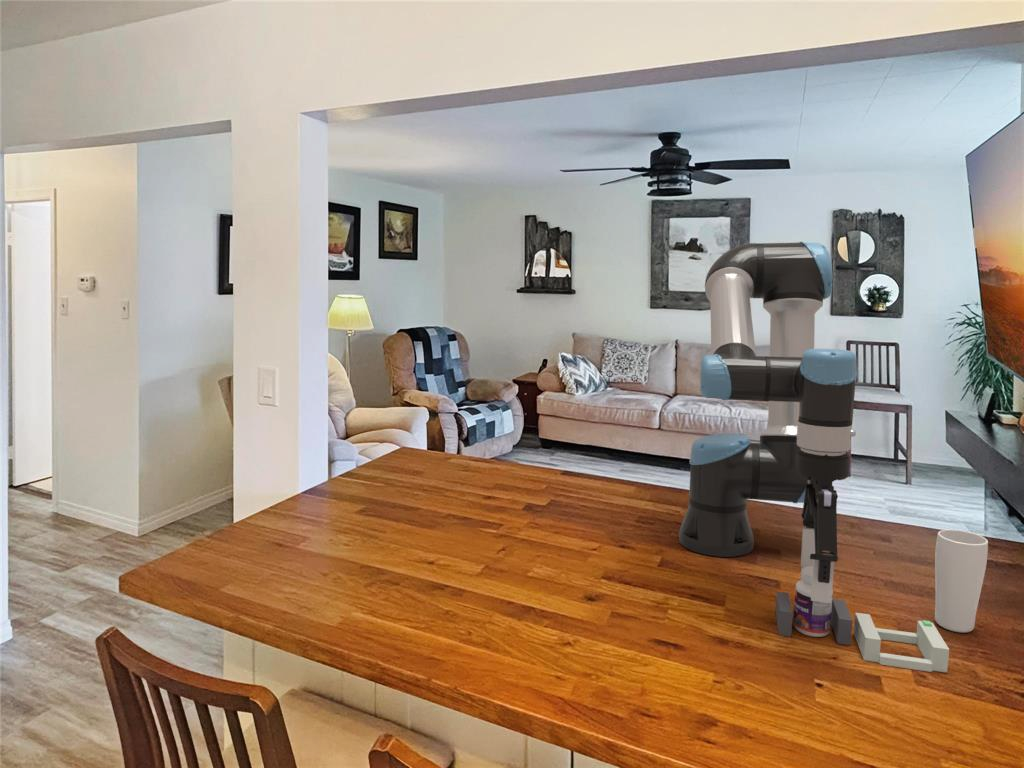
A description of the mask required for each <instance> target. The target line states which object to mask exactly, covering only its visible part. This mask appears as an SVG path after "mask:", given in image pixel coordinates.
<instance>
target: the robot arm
mask: <svg viewBox="0 0 1024 768" xmlns="http://www.w3.org/2000/svg"><path fill="white" fill-rule="evenodd" d="M833 277H834V276H833V264H832V260H831V256H830V253H829V251H828V249H827V247H826V246H825V245H824V244H822V243H820V242H805V241H798V242H768V243H767V242H766V243H763V242H762V243H758V242H751V243H750V242H749V243H745V244H744V243H743V244H740V245H738V246H735V247H733V248H731V249H729V250H728V251H725V252H724V253H723V254H722V255H721V256H719V257H718V259H716V260H715V261H714V263H713V264H712V265H711V266H710V268H709V270H708V272H707V274H706V277H705V282H704V291H705V296H706V298H707V300H708V301H709V302H710V349H711V350H710V351H711V352H710V354H708V355H706V354H705V355H704V356H702V357H701V360H700V374H699V380H700V381H699V392H700V395H701V396H702V397H703V398H707V399H717V400H721V401H760V402H761V401H762V402H763V401H764V402H765V401H766V402H767V401H768V415H767V416H768V417H767V419H768V420H767V421H768V422H767V427H766V428H765V429H764V430H763V431H762V432H761V433H760V434H759V442H752V441H751V439H750V437H749V435H747V434H744V433H732V432H728V433H726V432H725V433H715V434H707V435H705V436H702V437H699V438H697V439H696V440H694V442H693V443H692V444H691V453H690V459H689V464H690V471H689V472H690V474H689V492H688V493H689V494H688V496H689V497H688V506H687V510H686V512H685V515H684V517H683V520H682V522H681V525H680V527H679V534H678V537H679V538H678V541H679V543H680V545H681V546H683V547H684V548H686V549H688V550H690V551H691V552H695V553H698V554H701V555H706V556H710V557H711V556H712V557H720V558H729V557H730V558H732V557H741V556H745V555H748V554H749V553H751V552H753V550H754V543H755V542H754V540H755V539H754V538H755V537H754V534H753V530H752V527H751V523H750V520H749V517H748V514H747V503H748V502H747V500H756V501H768V502H771V501H772V502H780V503H781V502H784V503H793V504H796V505H797V504H799V503H801V504H803V506H802V512H801V518H802V525H803V527H802V535H801V536H802V538H801V552H800V553H801V555H800V567H802V568H803V567H807V566H813V570H812V586H811V601H817V602H825V603H831V602H832V599H833V598H832V590H833V583H834V573H835V572H834V571H835V570H834V569H835V563H837V562H838V559H839V556H838V533H837V532H838V526H837V525H838V521H837V520H838V519H837V514H838V513H837V508H838V507H837V502H838V501H837V500H838V498H839V497H838V493H837V490H835V486H833V483H834V482H835V481H843V480H846V479H848V477H849V476H850V469H851V468H850V467H851V455H850V454H849V453H848V452H849V451H851V448H852V447H851V446H852V439H851V438H853V437H856V436H857V432H856V430H854V429H853V422H854V421H853V420H854V419H853V418H854V407H855V392H856V391H855V390H856V381H857V380H856V379H857V377H858V371H857V356H856V354H855V352H853V351H851V350H847V349H839V348H836V349H835V348H815V326H816V324H815V321H816V317H815V315H816V313H817V312H818V311H819V310H820V309H821V308H822V307H823V306H824V300H826V299H828V298H829V297H831V294H832V293H833V292H832V291H833V281H834V280H833V279H834V278H833ZM751 299H762V301H763V302H762V303H763V304H762V307H763V309H764V310H765V311H766V312H767V313H768V314H769V316H770V320H769V321H770V324H769V325H770V328H769V329H770V330H769V331H770V332H769V356H767V355H766V356H762V355H761V356H759V355H758V356H757V355H756V353H757V352H756V344H755V336H754V334H755V333H754V326H753V318H752V317H753V316H752V307H751Z"/></svg>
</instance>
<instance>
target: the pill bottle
mask: <svg viewBox="0 0 1024 768" xmlns="http://www.w3.org/2000/svg"><path fill="white" fill-rule="evenodd" d="M812 570H813V566H807V567H803V566H802V567H801V570H800V579H799V580H798V581H797V582H796V584H795V589H794V606H793V607H794V608H793V617H792V626H793V627H794V629H795V630H796V631H798V632H799V633H801V634H803V635H806V636H809V637H813V638H815V637H816V638H821V637H822V638H823V637H825V636H828V635H829V634H830V633H831V627H832V624H831V612H832V602H831V603H825V602H817V601H811V586H812ZM833 593H834V591H833V589H832V599H834V598H833V595H834V594H833Z"/></svg>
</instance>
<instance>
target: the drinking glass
mask: <svg viewBox="0 0 1024 768" xmlns="http://www.w3.org/2000/svg"><path fill="white" fill-rule="evenodd" d="M988 550H989V540H988V539H987V538H986V537H984V536H982V535H980V534H977V533H975V532H972V531H971V532H970V531H965V530H961V529H942V530H939V531H937V537H936V543H935V553H934V555H935V556H934V574H935V575H934V578H935V579H934V581H935V582H934V583H935V587H934V589H935V592H934V593H935V594H934V596H935V598H934V601H935V604H934V605H935V610H934V621H935V623H936V624H938V626H940V627H942V628H944V629H946V630H948V631H950V632H955V633H963V634H964V633H970V632H971V631H973V630H974V629H975V622H976V616H977V613H978V612H977V611H978V607H979V600H980V596H981V592H982V588H983V583H984V578H985V573H986V570H987V569H986V568H987V562H988Z"/></svg>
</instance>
